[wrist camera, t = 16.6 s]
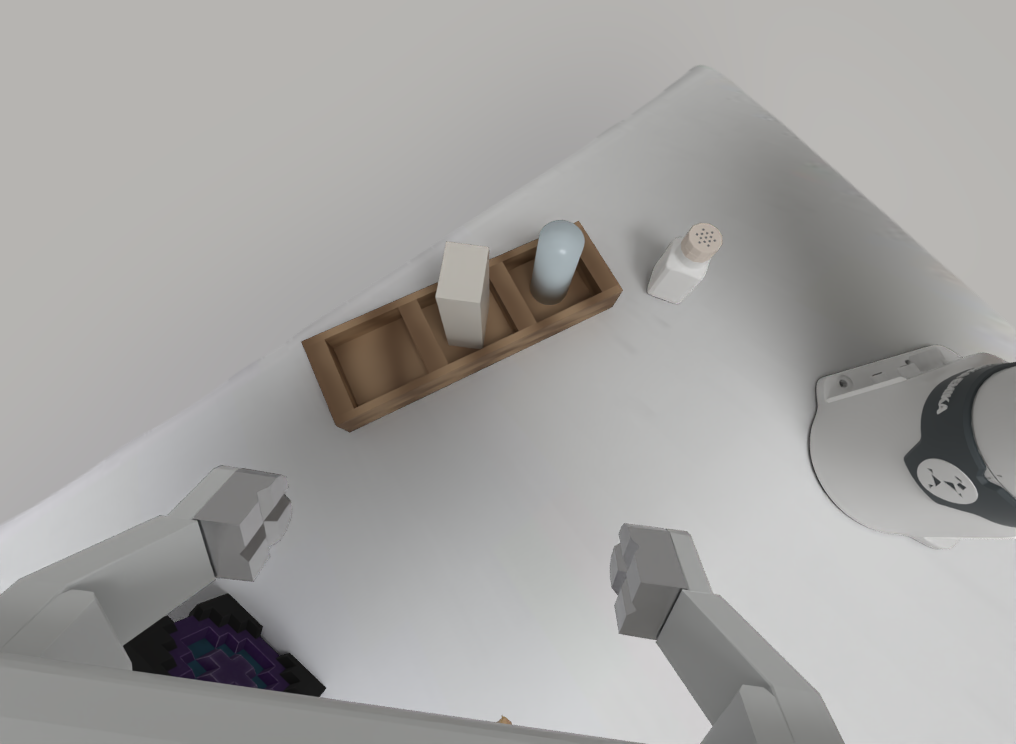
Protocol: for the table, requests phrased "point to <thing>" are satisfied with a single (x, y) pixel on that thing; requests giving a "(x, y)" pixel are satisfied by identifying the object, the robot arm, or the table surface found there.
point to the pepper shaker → (684, 263)
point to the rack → (423, 343)
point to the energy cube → (219, 651)
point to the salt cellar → (556, 261)
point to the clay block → (464, 294)
